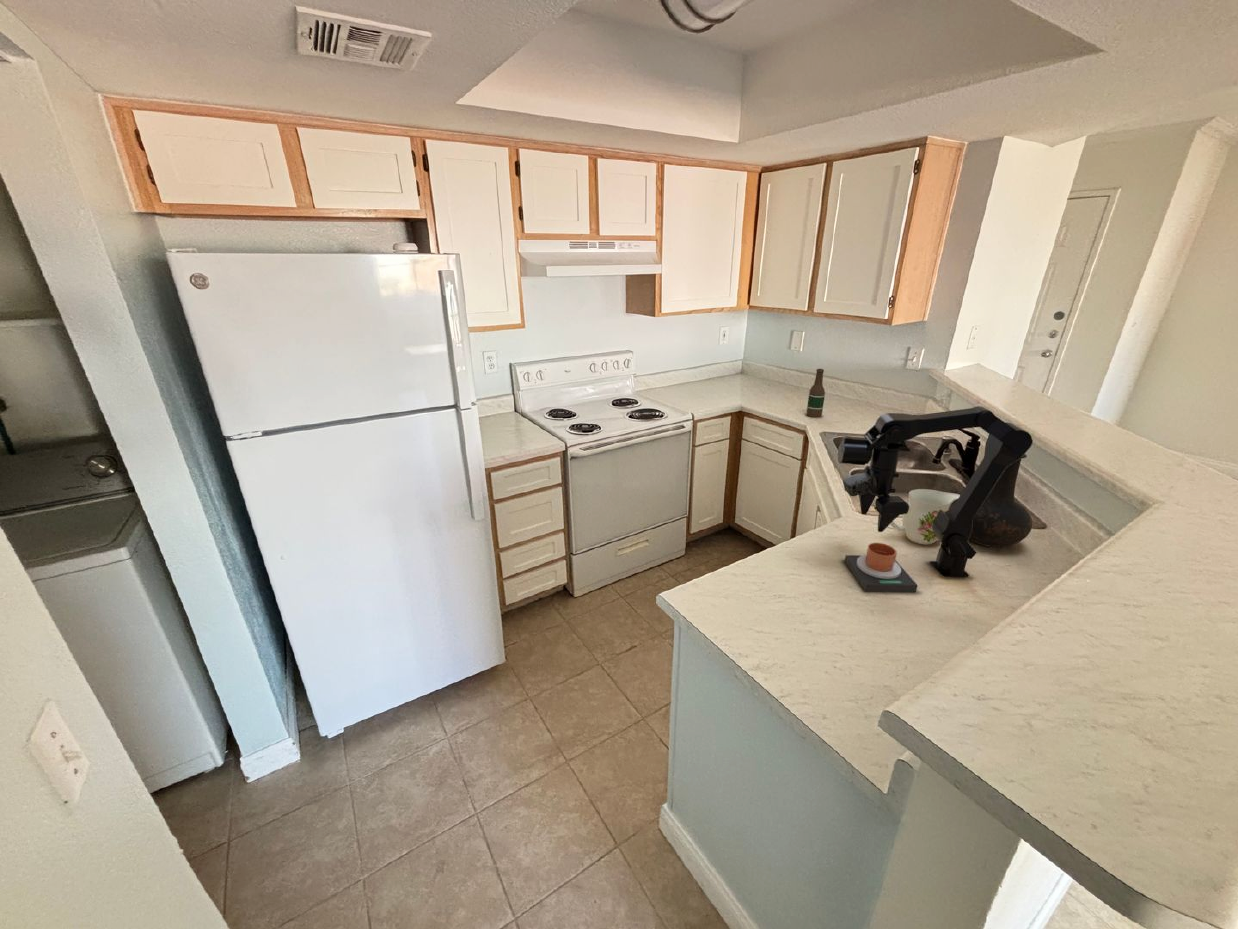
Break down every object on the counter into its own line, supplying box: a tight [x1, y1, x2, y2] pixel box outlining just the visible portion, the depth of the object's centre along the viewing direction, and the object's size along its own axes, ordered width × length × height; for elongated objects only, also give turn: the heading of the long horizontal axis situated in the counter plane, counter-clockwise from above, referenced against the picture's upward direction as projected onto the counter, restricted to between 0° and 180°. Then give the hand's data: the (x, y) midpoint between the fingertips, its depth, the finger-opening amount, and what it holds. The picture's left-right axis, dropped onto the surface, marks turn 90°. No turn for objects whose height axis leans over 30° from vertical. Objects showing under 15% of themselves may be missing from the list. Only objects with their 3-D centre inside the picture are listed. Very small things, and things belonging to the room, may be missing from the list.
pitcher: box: [889, 488, 961, 545], centre depth 140 cm, size 11×18×14 cm, turn 86°
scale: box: [844, 554, 918, 593], centre depth 126 cm, size 13×12×3 cm
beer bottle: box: [806, 368, 826, 419], centre depth 254 cm, size 8×8×24 cm
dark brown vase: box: [968, 453, 1033, 548], centre depth 137 cm, size 18×18×28 cm
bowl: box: [865, 542, 898, 571], centre depth 125 cm, size 6×6×4 cm
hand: (871, 522), depth 128 cm, fingers open, 9 cm apart
